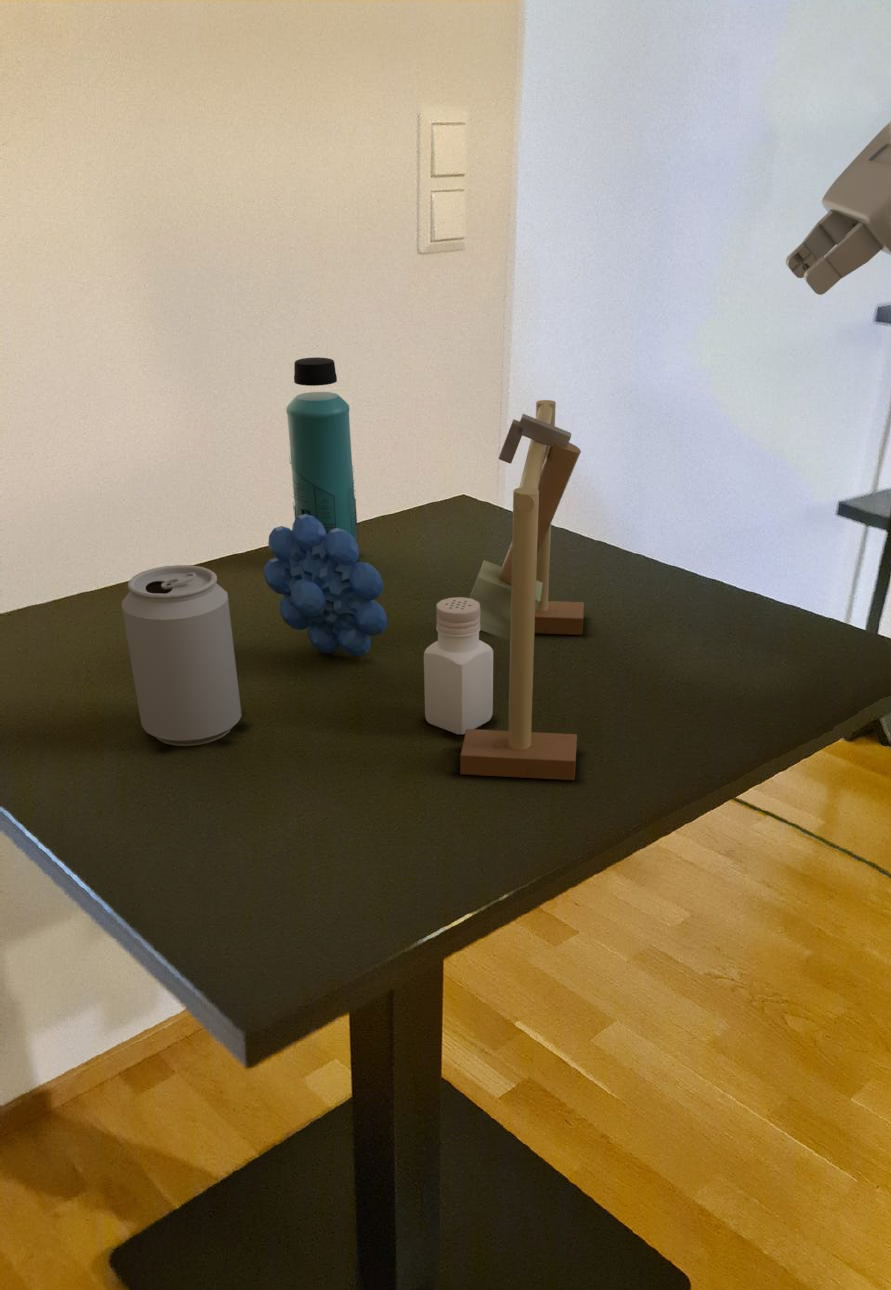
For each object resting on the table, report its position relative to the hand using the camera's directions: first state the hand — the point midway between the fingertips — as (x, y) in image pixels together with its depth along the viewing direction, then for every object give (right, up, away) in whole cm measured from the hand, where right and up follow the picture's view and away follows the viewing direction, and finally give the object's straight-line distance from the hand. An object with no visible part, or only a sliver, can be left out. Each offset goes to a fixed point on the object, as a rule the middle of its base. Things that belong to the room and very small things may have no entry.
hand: (800, 278), depth 82 cm
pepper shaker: (-25, -32, +4) cm, 41 cm away
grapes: (-36, -26, +15) cm, 47 cm away
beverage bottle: (-38, -13, +37) cm, 55 cm away
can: (-45, -33, +4) cm, 56 cm away
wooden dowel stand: (-19, -29, +9) cm, 36 cm away
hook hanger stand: (-22, -24, +7) cm, 33 cm away
